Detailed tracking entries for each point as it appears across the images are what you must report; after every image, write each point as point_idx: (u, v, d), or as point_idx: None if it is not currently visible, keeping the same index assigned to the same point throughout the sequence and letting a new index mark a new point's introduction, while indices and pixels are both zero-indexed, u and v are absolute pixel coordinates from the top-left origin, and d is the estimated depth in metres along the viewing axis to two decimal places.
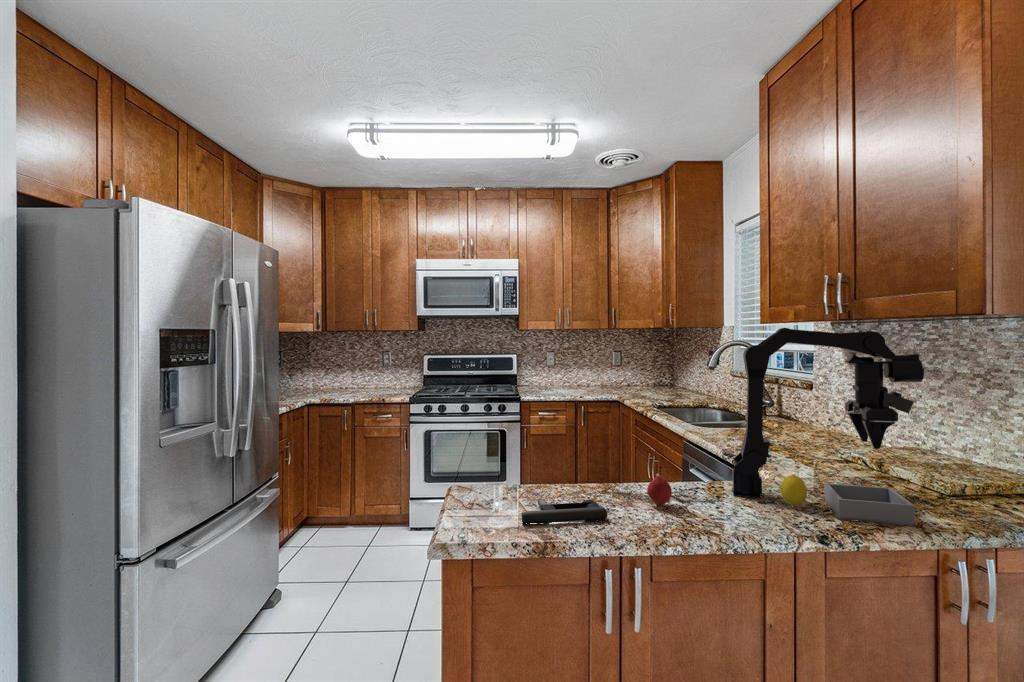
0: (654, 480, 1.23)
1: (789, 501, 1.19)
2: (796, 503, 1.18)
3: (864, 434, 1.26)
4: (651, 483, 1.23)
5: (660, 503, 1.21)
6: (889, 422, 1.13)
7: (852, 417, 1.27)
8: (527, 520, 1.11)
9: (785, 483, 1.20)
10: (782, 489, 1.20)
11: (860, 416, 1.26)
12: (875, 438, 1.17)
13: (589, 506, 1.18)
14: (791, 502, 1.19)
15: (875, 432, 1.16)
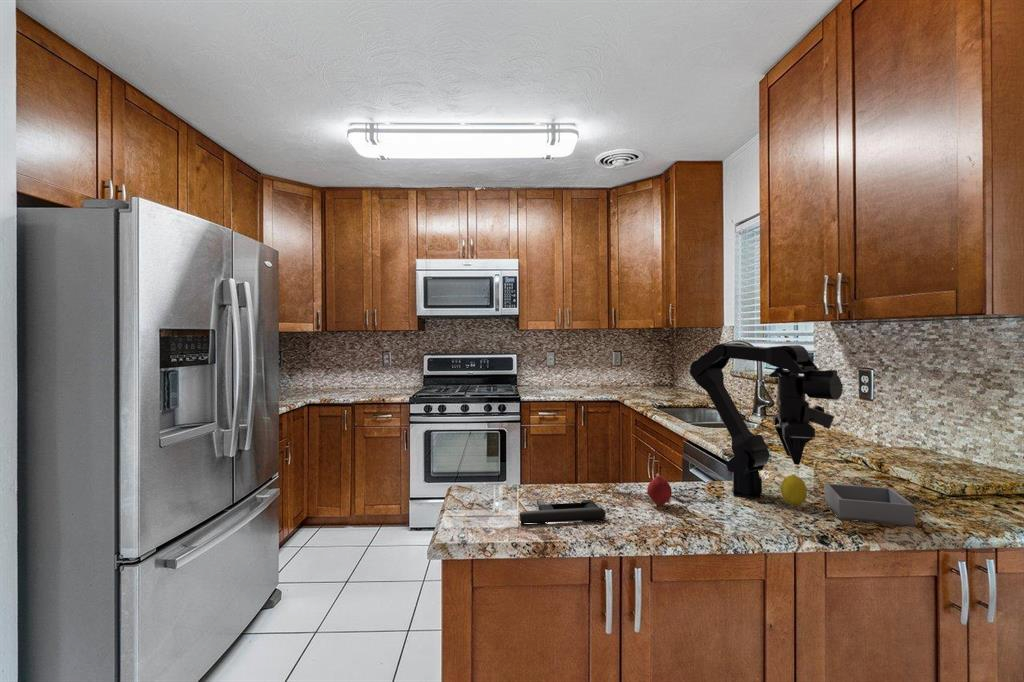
0: (654, 480, 1.23)
1: (789, 501, 1.19)
2: (796, 503, 1.18)
3: None
4: (651, 483, 1.23)
5: (660, 503, 1.21)
6: (807, 438, 1.12)
7: (778, 431, 1.26)
8: (525, 520, 1.11)
9: (785, 483, 1.20)
10: (782, 489, 1.20)
11: None
12: (794, 454, 1.16)
13: (587, 506, 1.18)
14: (791, 502, 1.19)
15: (794, 448, 1.15)
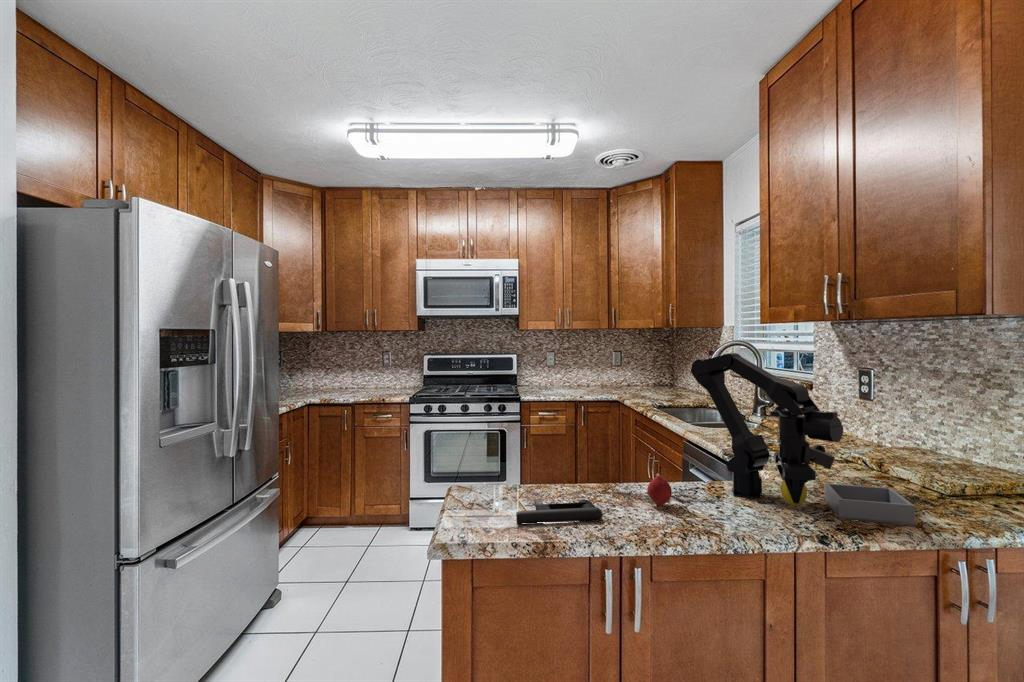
0: (654, 480, 1.23)
1: (789, 501, 1.19)
2: None
3: None
4: (651, 483, 1.23)
5: (660, 503, 1.21)
6: None
7: (780, 470, 1.24)
8: (521, 520, 1.11)
9: None
10: (782, 489, 1.20)
11: None
12: (794, 493, 1.17)
13: (584, 506, 1.18)
14: (791, 502, 1.19)
15: (794, 487, 1.17)
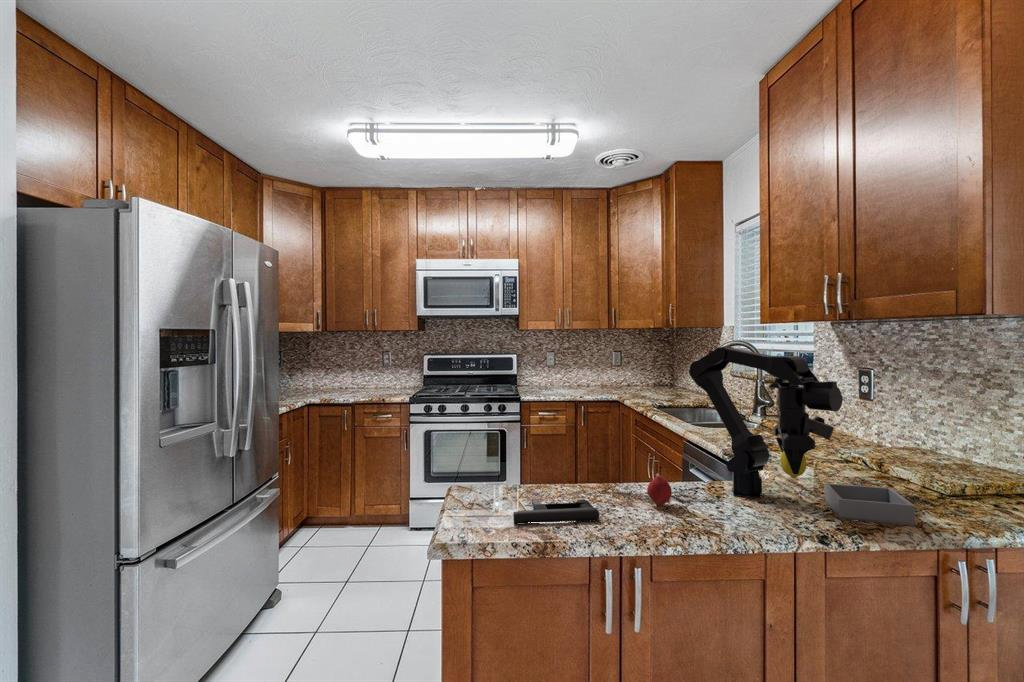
0: (654, 480, 1.23)
1: (789, 472, 1.19)
2: (796, 474, 1.18)
3: None
4: (651, 483, 1.23)
5: (660, 503, 1.21)
6: (805, 448, 1.14)
7: (779, 443, 1.24)
8: (518, 519, 1.11)
9: (784, 454, 1.20)
10: (782, 461, 1.20)
11: None
12: (793, 463, 1.17)
13: (582, 506, 1.18)
14: (791, 473, 1.19)
15: (793, 457, 1.17)
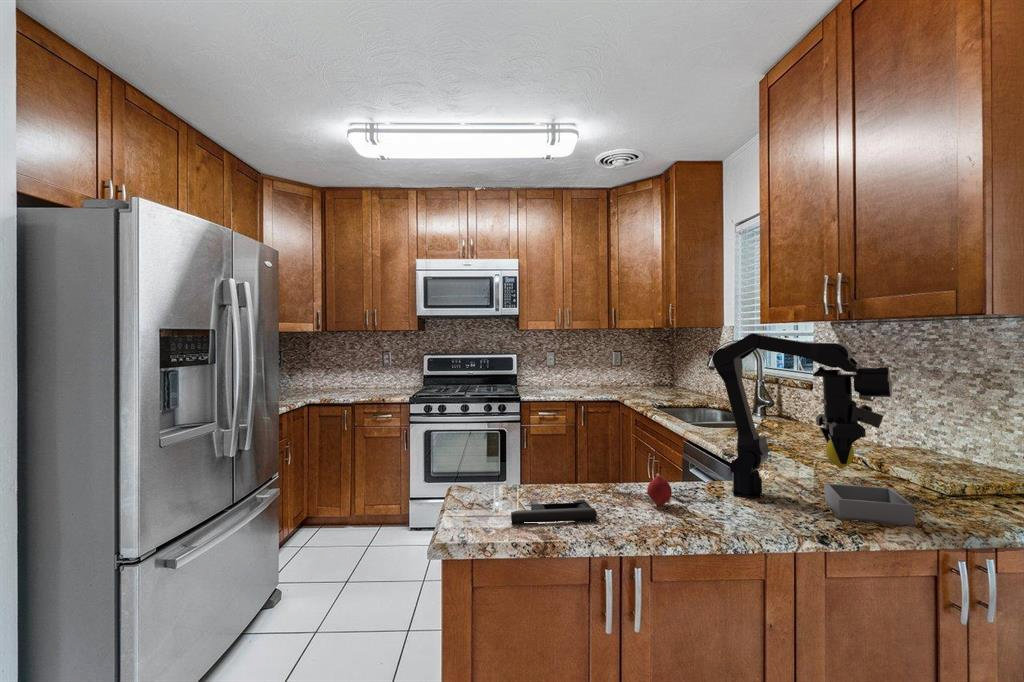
0: (654, 480, 1.23)
1: (836, 462, 1.16)
2: (843, 464, 1.15)
3: None
4: (651, 483, 1.23)
5: (660, 503, 1.21)
6: (854, 437, 1.11)
7: (824, 433, 1.21)
8: (516, 519, 1.11)
9: (830, 443, 1.17)
10: (828, 450, 1.17)
11: None
12: (841, 453, 1.14)
13: (579, 506, 1.18)
14: (838, 463, 1.16)
15: (841, 447, 1.13)
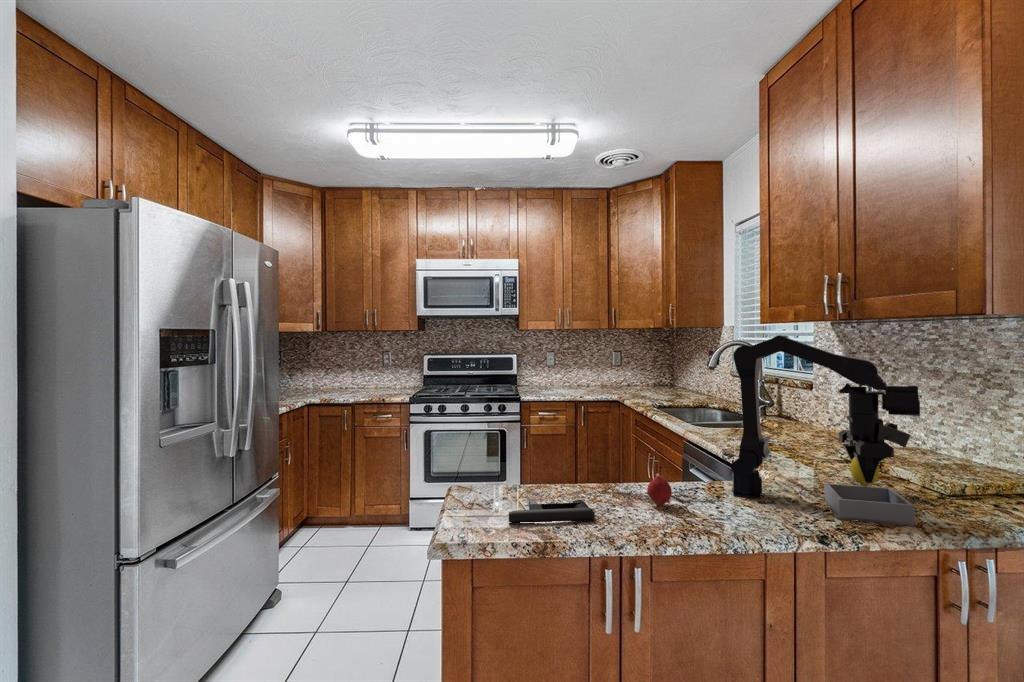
0: (654, 480, 1.23)
1: (860, 480, 1.14)
2: None
3: None
4: (651, 483, 1.23)
5: (660, 503, 1.21)
6: None
7: (848, 450, 1.20)
8: (513, 519, 1.12)
9: (855, 461, 1.15)
10: (852, 468, 1.16)
11: None
12: (867, 472, 1.12)
13: (577, 506, 1.18)
14: (863, 481, 1.14)
15: (867, 465, 1.12)
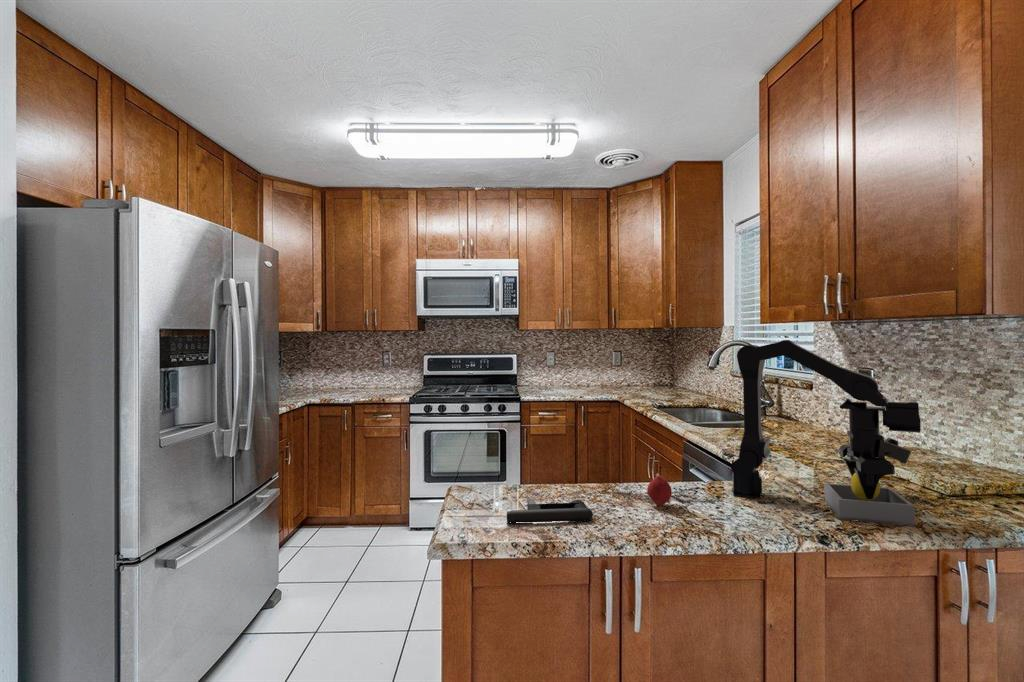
0: (654, 480, 1.23)
1: (861, 496, 1.14)
2: None
3: None
4: (651, 483, 1.23)
5: (660, 503, 1.21)
6: None
7: (848, 465, 1.20)
8: (511, 519, 1.12)
9: (856, 477, 1.15)
10: (853, 484, 1.16)
11: None
12: (867, 488, 1.12)
13: (576, 507, 1.18)
14: (863, 497, 1.14)
15: (868, 482, 1.12)
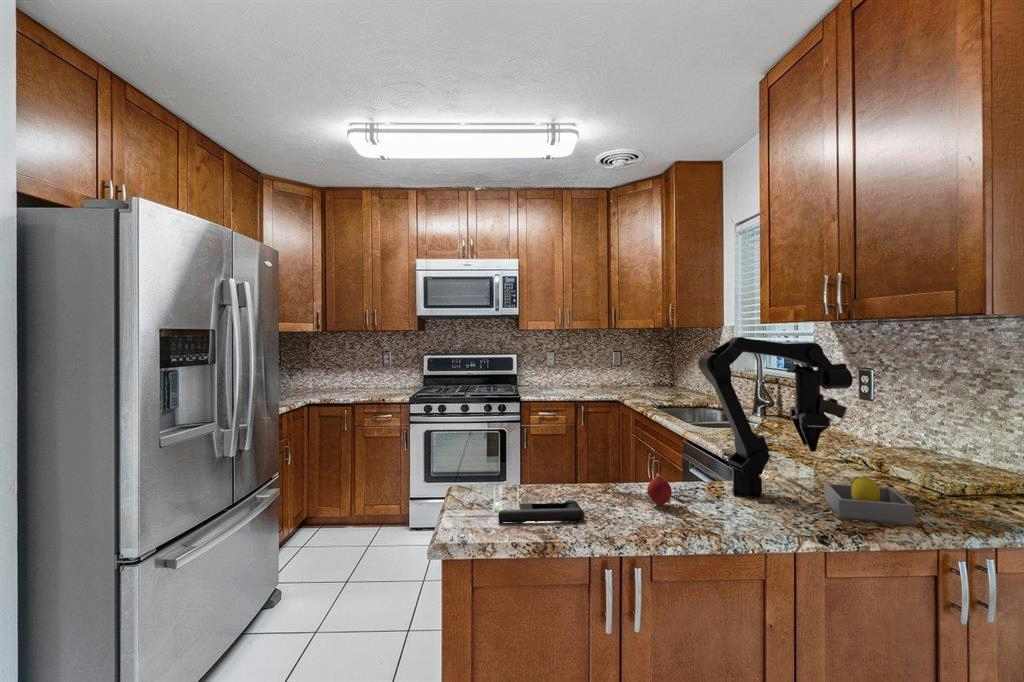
0: (654, 480, 1.23)
1: None
2: None
3: None
4: (651, 483, 1.23)
5: (660, 503, 1.21)
6: (822, 427, 1.23)
7: (794, 422, 1.37)
8: (502, 519, 1.12)
9: (856, 484, 1.15)
10: (853, 491, 1.16)
11: None
12: (811, 441, 1.27)
13: (568, 507, 1.18)
14: None
15: (811, 436, 1.26)
